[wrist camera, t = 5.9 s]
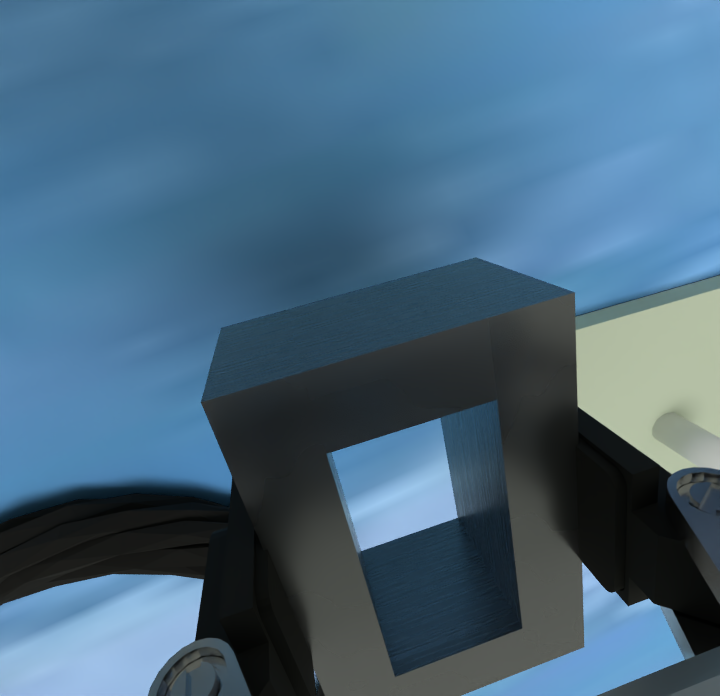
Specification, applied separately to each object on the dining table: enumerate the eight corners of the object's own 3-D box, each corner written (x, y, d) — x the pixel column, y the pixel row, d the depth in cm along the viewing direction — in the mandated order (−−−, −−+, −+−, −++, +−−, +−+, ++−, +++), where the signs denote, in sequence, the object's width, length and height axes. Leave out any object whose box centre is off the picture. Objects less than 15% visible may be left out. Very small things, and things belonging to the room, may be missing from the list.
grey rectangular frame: (221, 328, 10) (200, 401, 6) (476, 257, 10) (574, 292, 7) (323, 604, 13) (344, 741, 10) (508, 538, 14) (584, 647, 10)
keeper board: (527, 330, 23) (615, 379, 17) (762, 262, 24) (921, 286, 18) (546, 542, 28) (617, 635, 22) (737, 478, 30) (852, 551, 24)
